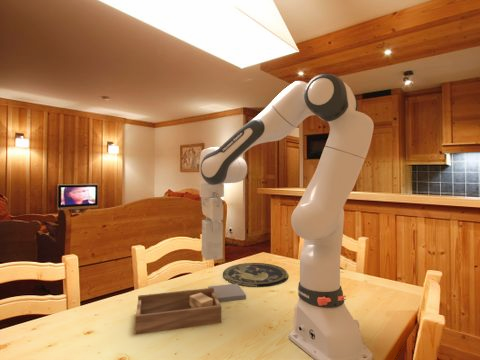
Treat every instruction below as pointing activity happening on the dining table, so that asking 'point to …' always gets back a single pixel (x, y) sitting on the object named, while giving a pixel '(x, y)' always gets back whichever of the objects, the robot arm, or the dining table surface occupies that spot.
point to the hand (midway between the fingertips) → (212, 230)
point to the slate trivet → (228, 292)
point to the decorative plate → (255, 275)
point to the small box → (212, 241)
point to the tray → (174, 311)
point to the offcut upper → (200, 300)
